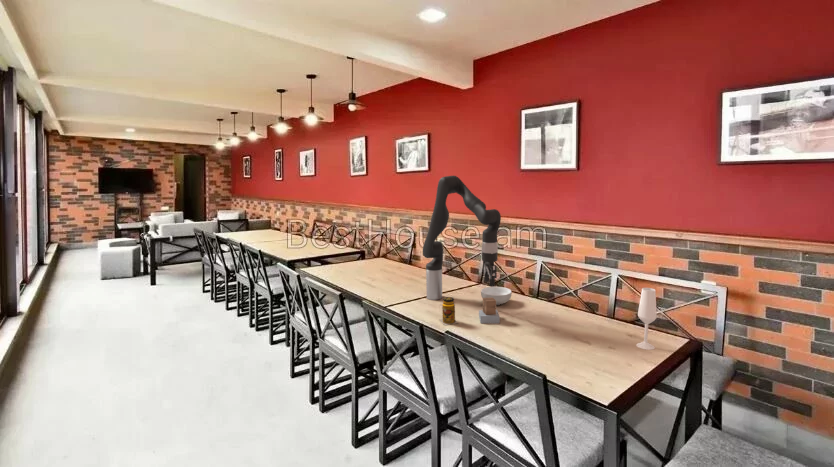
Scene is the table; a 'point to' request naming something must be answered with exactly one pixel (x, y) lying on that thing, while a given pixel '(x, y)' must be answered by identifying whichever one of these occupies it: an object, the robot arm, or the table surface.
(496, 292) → the cereal bowl
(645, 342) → the champagne flute
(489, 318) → the slate base
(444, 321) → the condiment
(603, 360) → the table surface
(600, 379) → the table surface
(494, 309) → the walnut block
